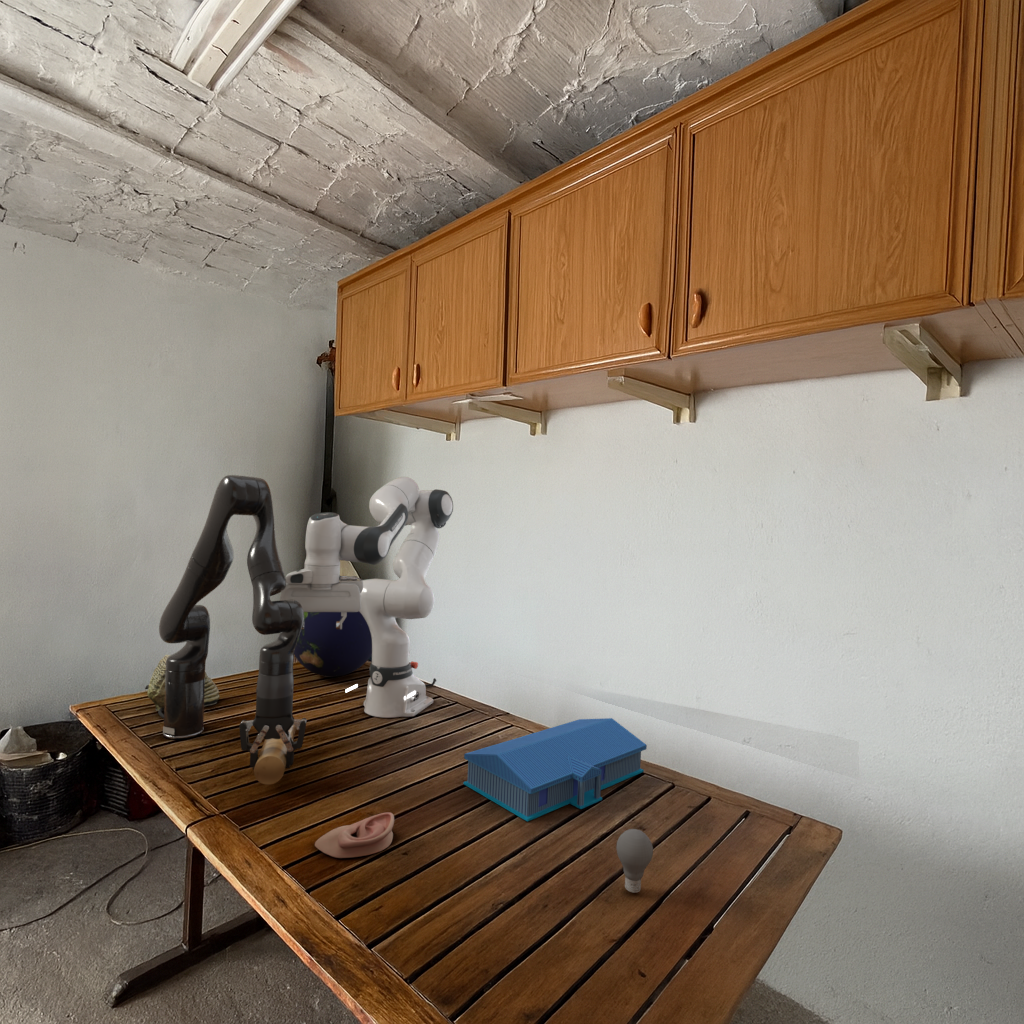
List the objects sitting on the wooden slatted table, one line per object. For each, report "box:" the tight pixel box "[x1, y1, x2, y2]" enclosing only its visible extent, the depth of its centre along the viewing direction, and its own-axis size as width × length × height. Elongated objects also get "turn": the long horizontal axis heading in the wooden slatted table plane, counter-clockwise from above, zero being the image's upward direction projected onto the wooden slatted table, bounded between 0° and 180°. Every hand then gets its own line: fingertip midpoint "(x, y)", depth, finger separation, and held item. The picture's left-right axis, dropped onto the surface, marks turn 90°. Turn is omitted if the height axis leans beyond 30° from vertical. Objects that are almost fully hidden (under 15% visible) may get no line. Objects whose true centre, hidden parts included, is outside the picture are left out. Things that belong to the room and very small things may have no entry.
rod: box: [253, 725, 297, 786], centre depth 146 cm, size 25×6×6 cm, turn 13°
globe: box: [294, 611, 372, 678], centre depth 222 cm, size 30×30×30 cm
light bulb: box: [615, 828, 654, 894], centre depth 106 cm, size 6×6×10 cm
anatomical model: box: [314, 812, 395, 859], centre depth 117 cm, size 13×4×12 cm
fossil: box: [147, 654, 221, 711], centre depth 185 cm, size 9×18×15 cm, turn 132°
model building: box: [462, 717, 648, 822], centre depth 147 cm, size 39×24×10 cm, turn 132°
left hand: (271, 767), depth 138 cm, fingers closed on rod, 6 cm apart
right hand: (320, 629), depth 163 cm, fingers open, 8 cm apart
